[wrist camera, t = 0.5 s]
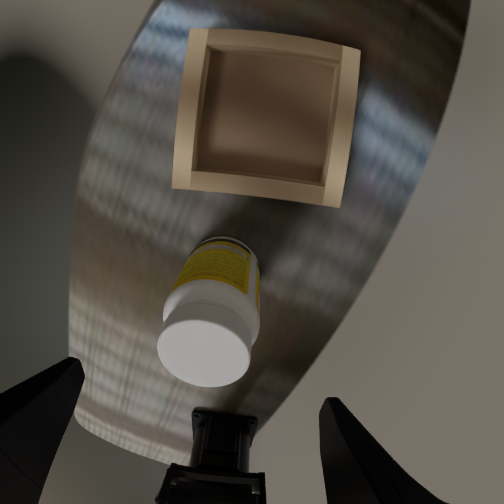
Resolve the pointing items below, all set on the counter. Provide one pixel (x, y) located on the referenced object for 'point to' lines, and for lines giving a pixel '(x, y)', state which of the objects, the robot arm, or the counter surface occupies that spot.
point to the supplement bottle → (212, 314)
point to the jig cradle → (265, 115)
